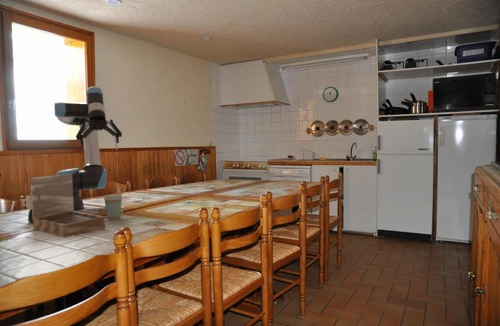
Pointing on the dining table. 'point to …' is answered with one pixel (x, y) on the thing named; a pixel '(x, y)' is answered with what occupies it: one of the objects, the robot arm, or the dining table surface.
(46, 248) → the dining table surface
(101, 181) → the robot arm
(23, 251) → the dining table surface
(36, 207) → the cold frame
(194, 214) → the dining table surface
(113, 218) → the coffee cup
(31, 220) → the character mug
